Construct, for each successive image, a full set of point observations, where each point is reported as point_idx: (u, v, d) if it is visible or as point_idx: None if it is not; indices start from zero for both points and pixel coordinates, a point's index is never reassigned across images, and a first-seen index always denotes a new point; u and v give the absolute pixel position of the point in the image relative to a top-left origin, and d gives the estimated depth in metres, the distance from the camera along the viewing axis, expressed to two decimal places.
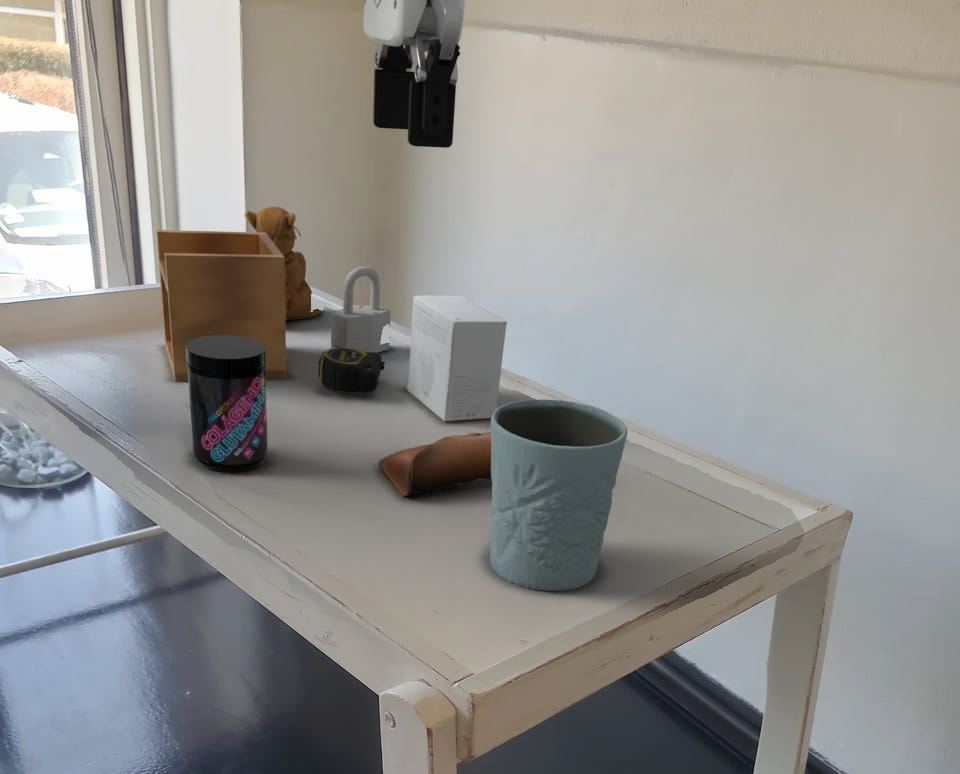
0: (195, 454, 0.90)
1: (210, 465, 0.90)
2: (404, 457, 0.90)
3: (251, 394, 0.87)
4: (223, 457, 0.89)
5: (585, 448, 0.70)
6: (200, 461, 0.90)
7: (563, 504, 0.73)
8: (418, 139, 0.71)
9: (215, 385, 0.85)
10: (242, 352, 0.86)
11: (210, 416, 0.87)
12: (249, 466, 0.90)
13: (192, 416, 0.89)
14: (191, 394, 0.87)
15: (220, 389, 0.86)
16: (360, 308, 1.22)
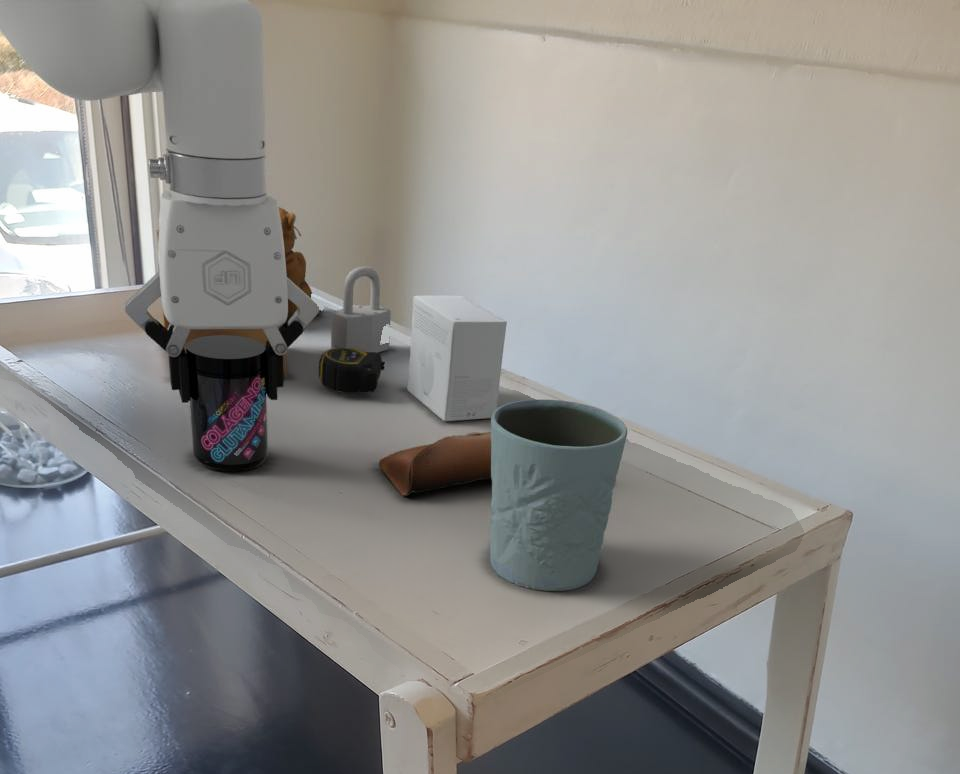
0: (195, 454, 0.90)
1: (210, 465, 0.90)
2: (404, 457, 0.90)
3: (251, 394, 0.87)
4: (223, 457, 0.89)
5: (585, 448, 0.70)
6: (200, 461, 0.90)
7: (563, 504, 0.73)
8: None
9: (215, 385, 0.85)
10: (243, 352, 0.86)
11: (210, 416, 0.87)
12: (249, 466, 0.90)
13: (192, 416, 0.89)
14: (191, 394, 0.87)
15: (220, 389, 0.86)
16: (360, 308, 1.22)
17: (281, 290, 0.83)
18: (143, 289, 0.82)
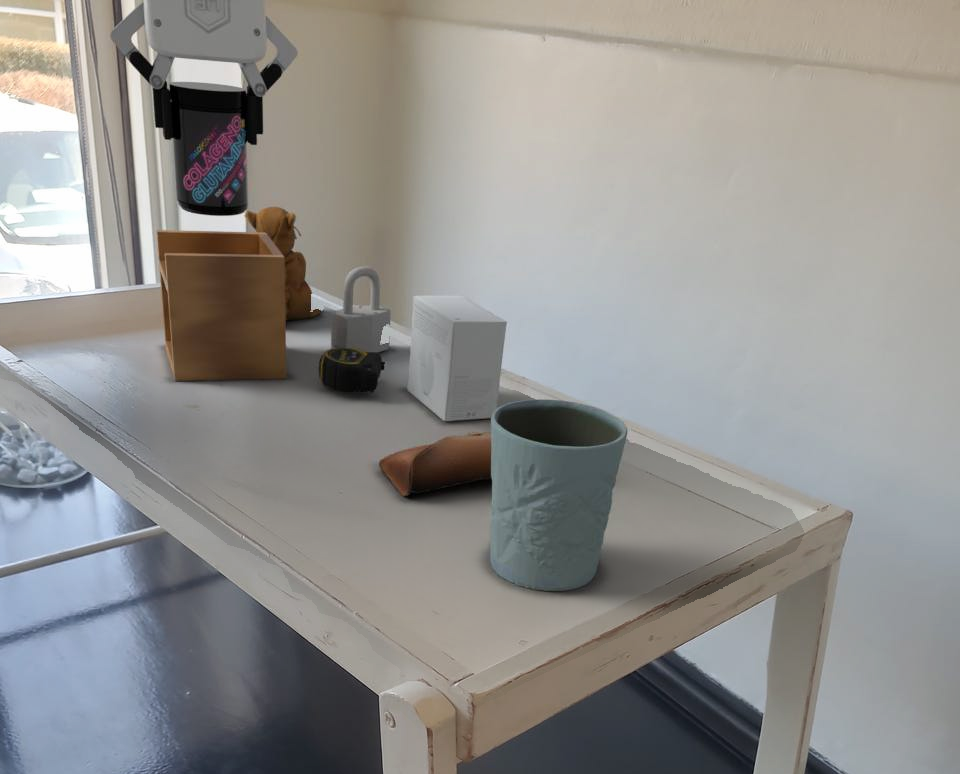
0: (178, 198, 0.94)
1: (192, 207, 0.93)
2: (404, 457, 0.90)
3: (231, 132, 0.91)
4: (204, 198, 0.93)
5: (585, 448, 0.70)
6: (182, 204, 0.94)
7: (563, 504, 0.73)
8: None
9: (196, 119, 0.89)
10: (223, 89, 0.90)
11: (191, 153, 0.91)
12: (229, 210, 0.94)
13: (175, 157, 0.92)
14: (174, 133, 0.91)
15: (201, 123, 0.89)
16: (360, 308, 1.22)
17: (260, 22, 0.87)
18: (128, 16, 0.86)
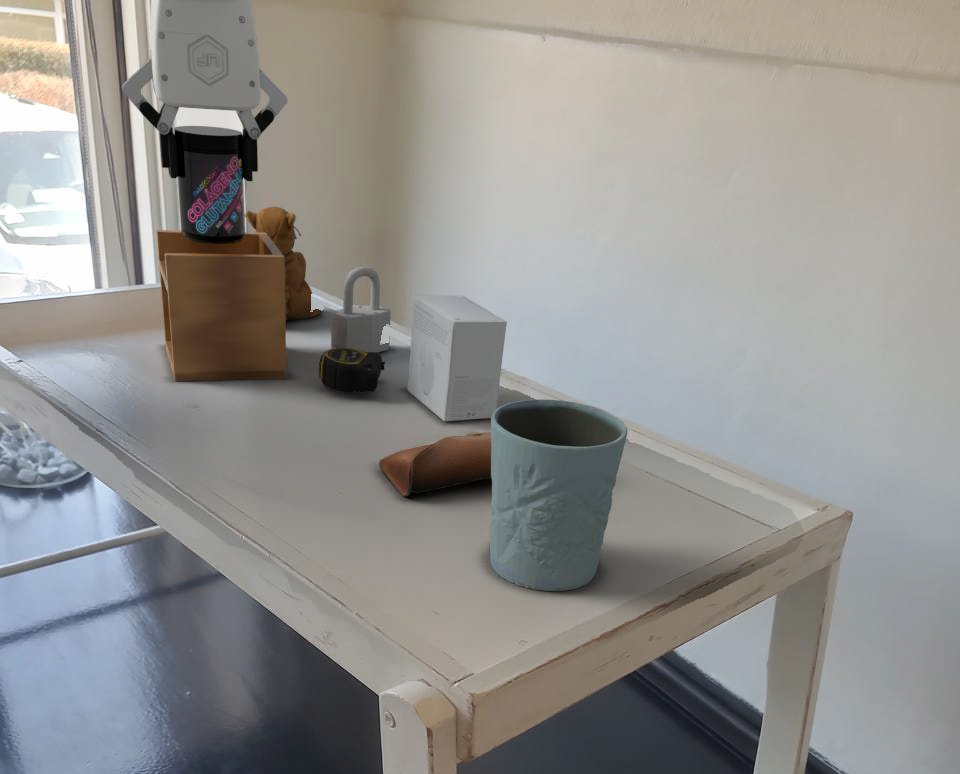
0: (182, 229, 1.06)
1: (195, 237, 1.05)
2: (404, 457, 0.90)
3: (229, 171, 1.02)
4: (206, 229, 1.04)
5: (585, 448, 0.70)
6: (187, 234, 1.05)
7: (563, 504, 0.73)
8: (251, 176, 1.05)
9: (199, 160, 1.01)
10: (222, 133, 1.02)
11: (194, 189, 1.02)
12: (229, 239, 1.06)
13: (180, 193, 1.04)
14: (179, 172, 1.03)
15: (203, 164, 1.01)
16: (360, 308, 1.22)
17: (254, 75, 0.99)
18: (138, 71, 0.97)
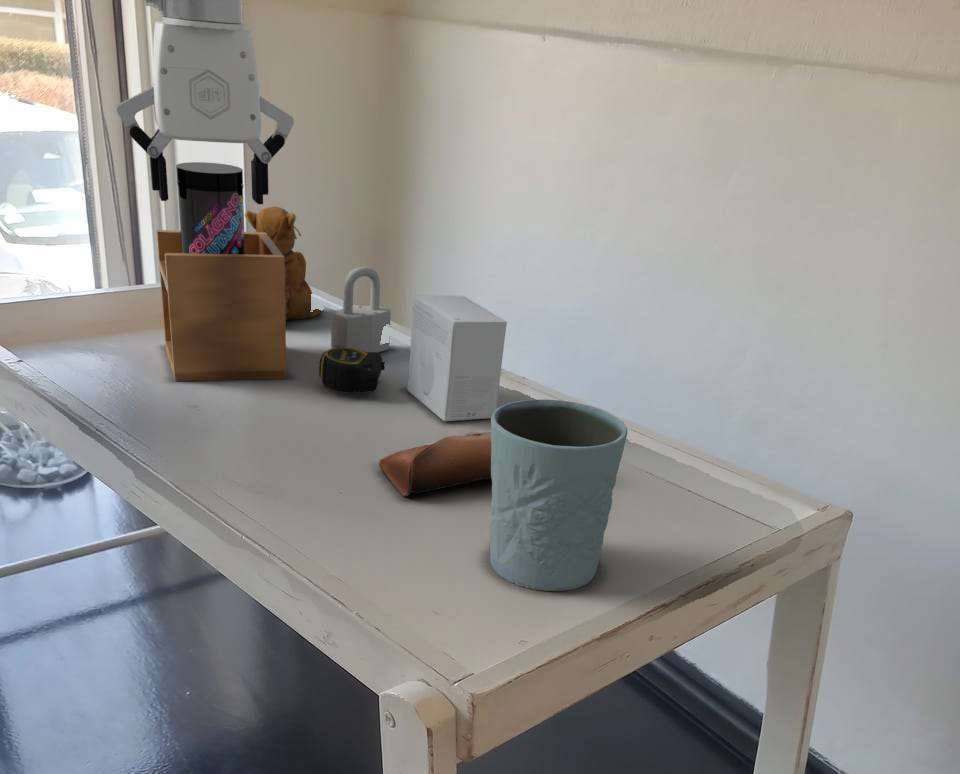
0: None
1: None
2: (404, 457, 0.90)
3: (230, 207, 1.04)
4: None
5: (585, 448, 0.70)
6: None
7: (563, 504, 0.73)
8: None
9: (200, 197, 1.03)
10: (223, 170, 1.03)
11: (196, 225, 1.04)
12: None
13: (181, 228, 1.06)
14: (180, 208, 1.05)
15: (205, 200, 1.03)
16: (360, 308, 1.22)
17: (255, 109, 1.00)
18: (136, 96, 0.98)
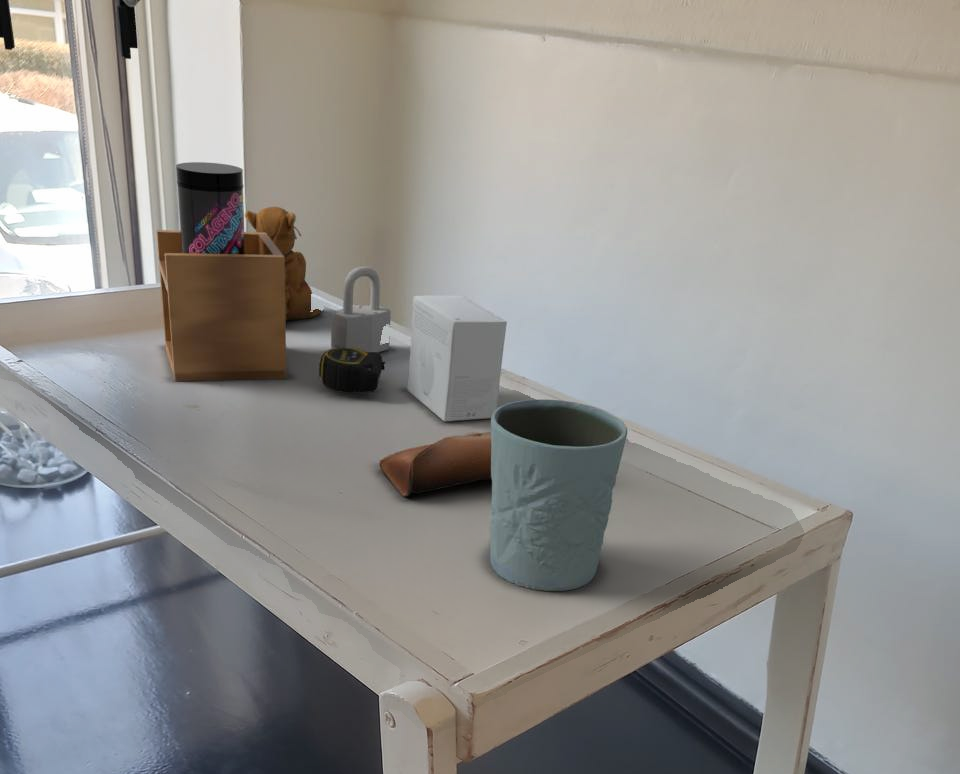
0: None
1: None
2: (404, 457, 0.90)
3: (230, 207, 1.04)
4: None
5: (585, 448, 0.70)
6: None
7: (563, 504, 0.73)
8: None
9: (200, 197, 1.03)
10: (223, 170, 1.03)
11: (196, 225, 1.04)
12: None
13: (181, 228, 1.06)
14: (180, 208, 1.05)
15: (205, 201, 1.03)
16: (360, 308, 1.22)
17: None
18: None
